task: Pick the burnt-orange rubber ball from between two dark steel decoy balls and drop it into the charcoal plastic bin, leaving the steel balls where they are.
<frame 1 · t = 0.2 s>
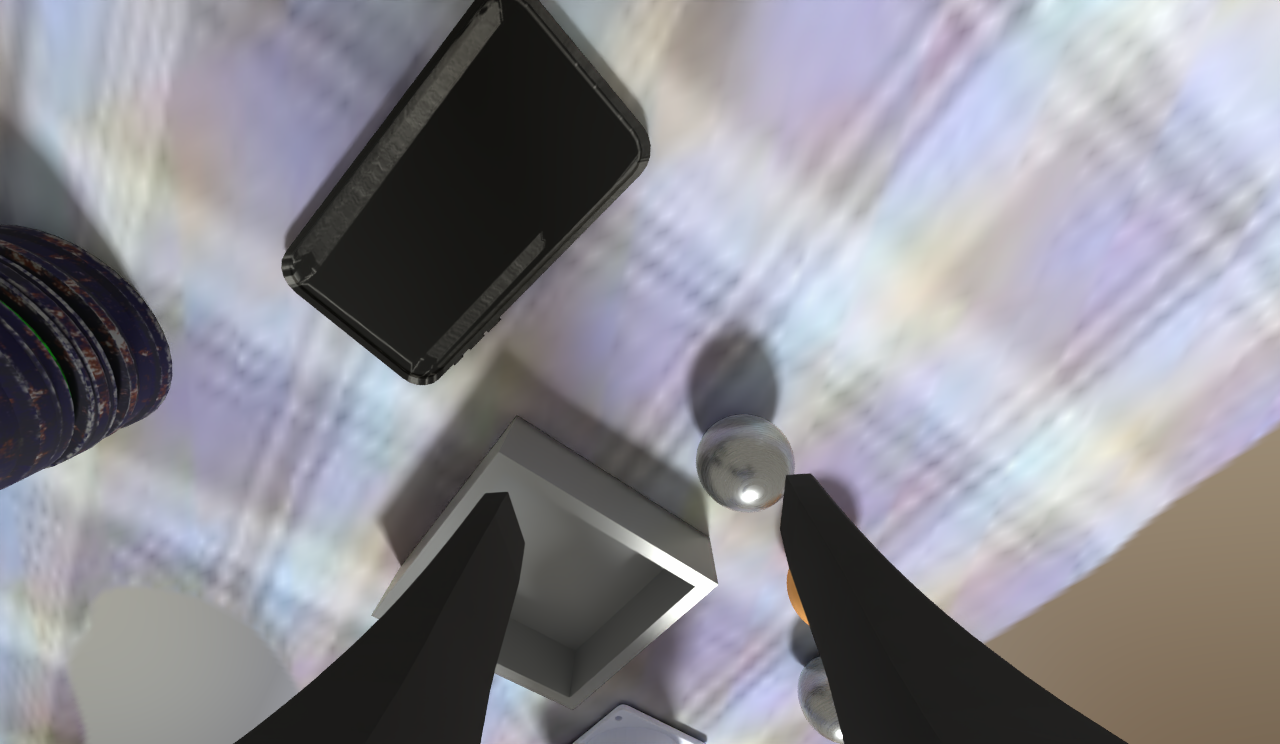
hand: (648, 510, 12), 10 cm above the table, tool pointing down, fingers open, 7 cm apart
orange ball: (830, 588, 25), point 2 cm above the table
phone: (469, 212, 20), on the table
steel ball b: (836, 697, 28), point 2 cm above the table
storage jar: (63, 333, 21), on the table
steel ball a: (744, 462, 21), point 2 cm above the table
bin: (552, 552, 26), on the table
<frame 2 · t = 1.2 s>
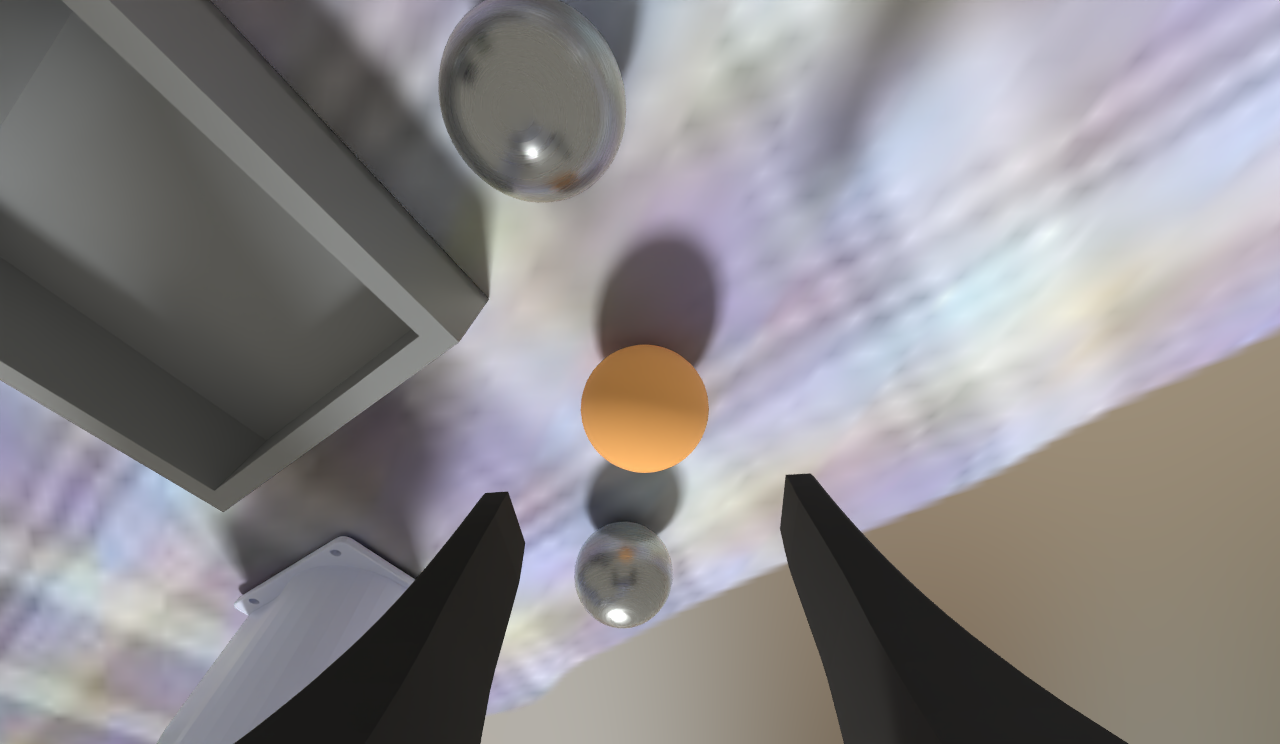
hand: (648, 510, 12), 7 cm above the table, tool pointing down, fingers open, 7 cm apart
orange ball: (644, 407, 16), point 2 cm above the table
steel ball b: (623, 572, 21), point 2 cm above the table
steel ball a: (536, 107, 11), point 2 cm above the table
bin: (219, 256, 16), on the table
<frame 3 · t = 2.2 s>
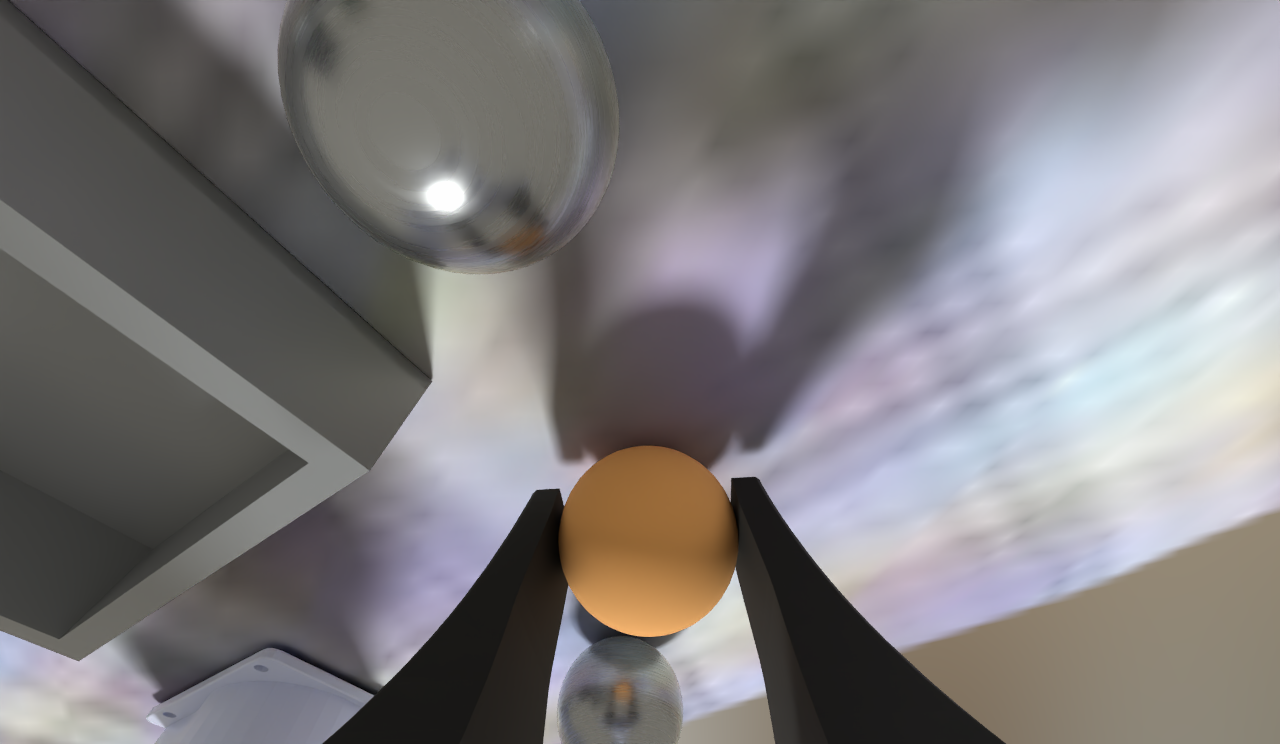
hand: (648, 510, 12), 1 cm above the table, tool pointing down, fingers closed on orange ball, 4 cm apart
orange ball: (648, 535, 12), point 2 cm above the table, touching gripper
steel ball b: (620, 707, 16), point 2 cm above the table
steel ball a: (468, 120, 7), point 2 cm above the table
bin: (46, 325, 11), on the table
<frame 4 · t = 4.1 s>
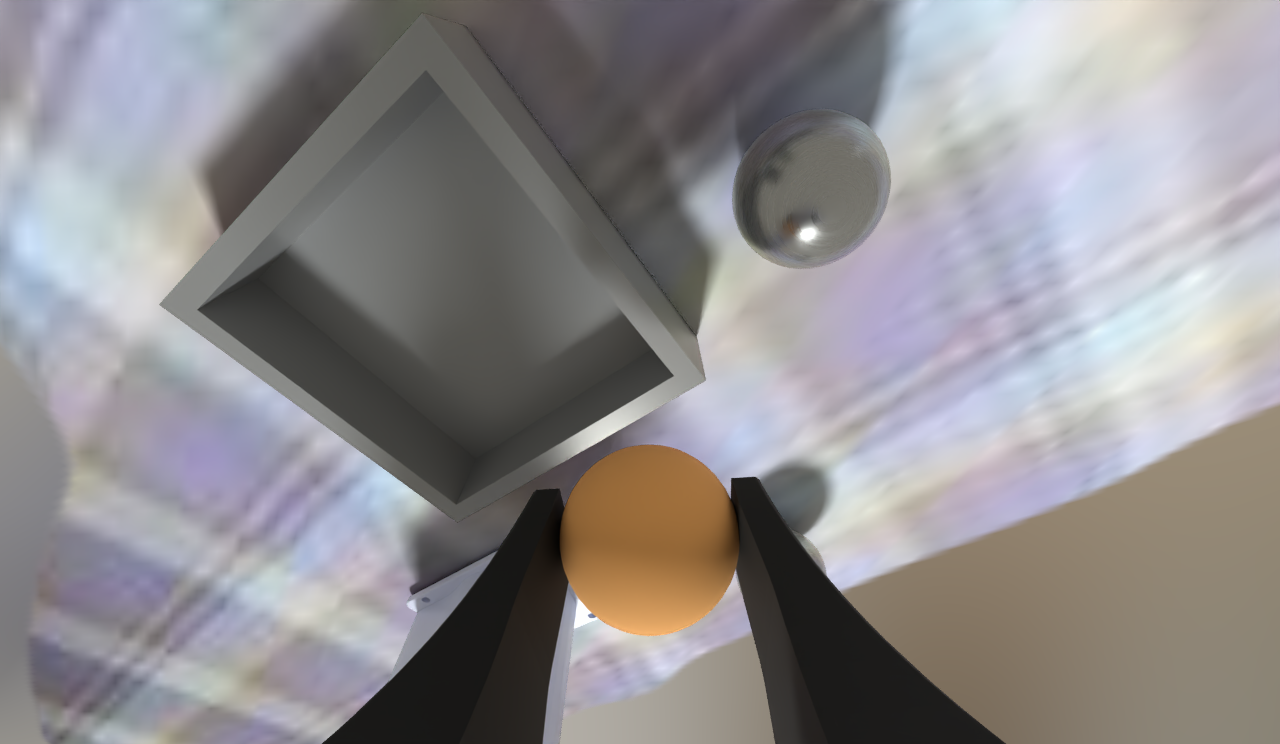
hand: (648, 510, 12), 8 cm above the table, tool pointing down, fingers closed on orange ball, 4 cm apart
orange ball: (649, 534, 12), point 9 cm above the table, touching gripper
steel ball b: (780, 572, 24), point 2 cm above the table
steel ball a: (807, 193, 14), point 2 cm above the table
bin: (474, 305, 18), on the table
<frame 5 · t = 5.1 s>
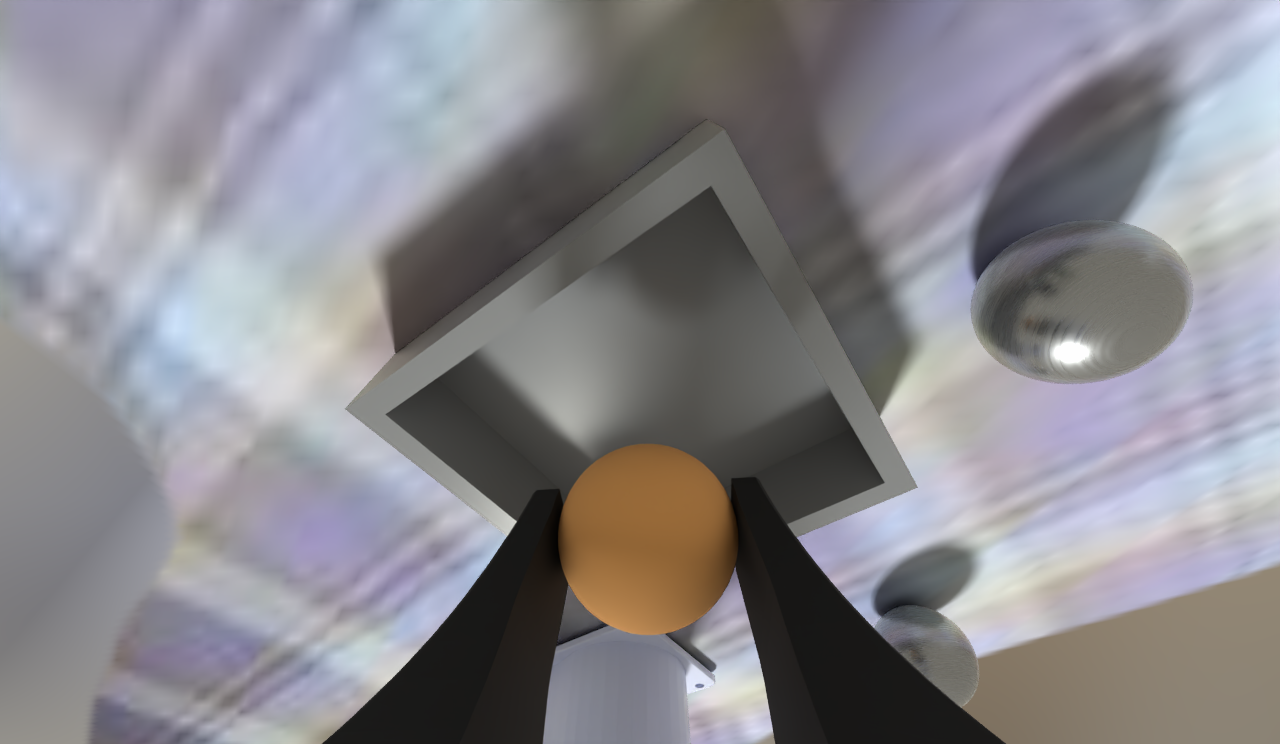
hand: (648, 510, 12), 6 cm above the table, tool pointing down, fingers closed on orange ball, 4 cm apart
orange ball: (647, 533, 12), point 6 cm above the table, touching gripper
steel ball b: (922, 656, 22), point 2 cm above the table
steel ball a: (1068, 304, 13), point 2 cm above the table
bin: (646, 391, 17), on the table
when the fingers open (4 cm above the table, at t = 5.8 s): orange ball drops 2 cm, resting on bin.
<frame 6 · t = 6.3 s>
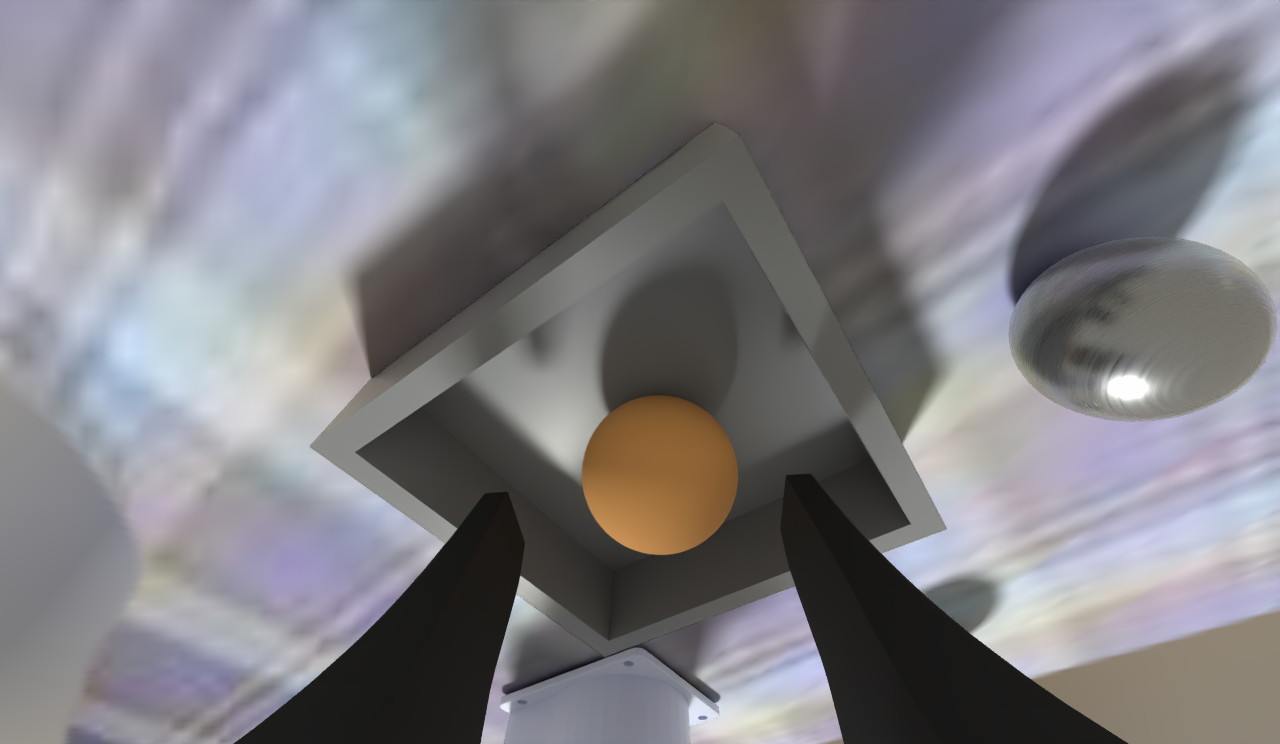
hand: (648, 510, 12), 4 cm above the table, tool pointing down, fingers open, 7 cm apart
orange ball: (659, 472, 13), point 3 cm above the table, tilted 10°, touching bin
steel ball a: (1124, 330, 11), point 2 cm above the table
bin: (646, 418, 16), on the table
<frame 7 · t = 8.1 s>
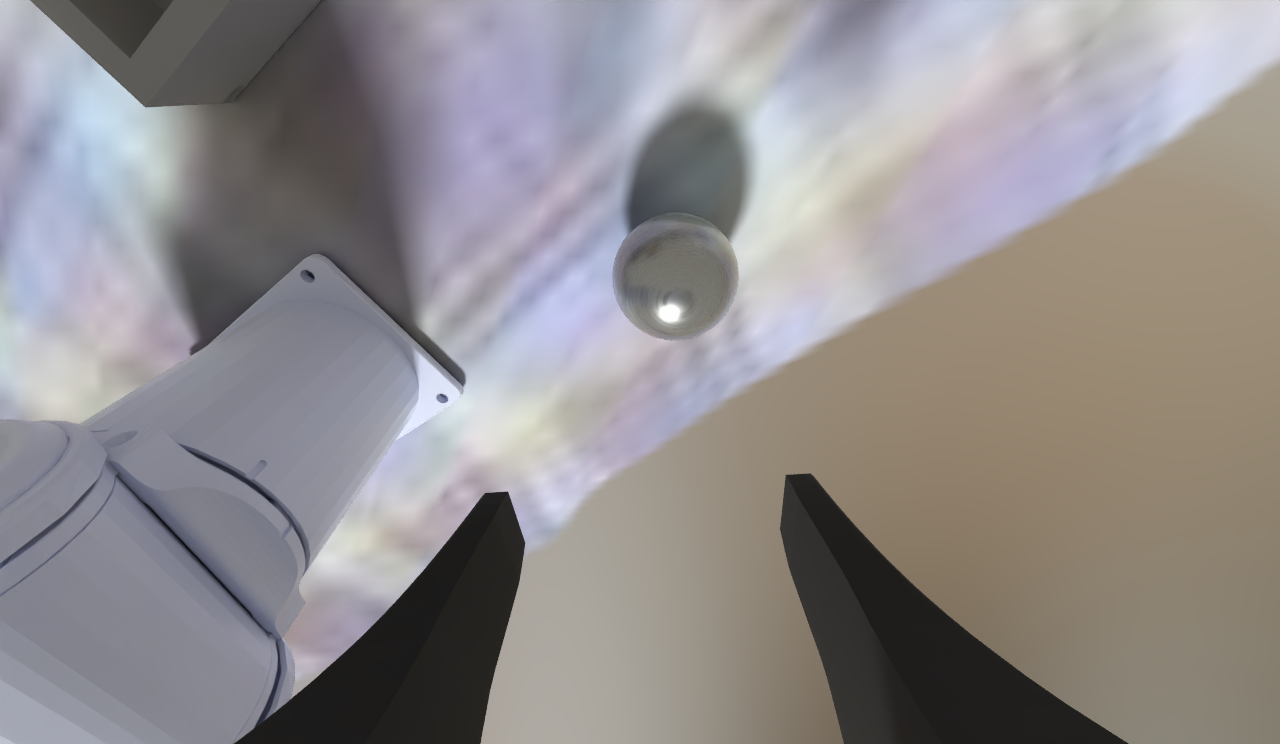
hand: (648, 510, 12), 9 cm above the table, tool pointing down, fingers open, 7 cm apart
steel ball b: (674, 277, 16), point 2 cm above the table
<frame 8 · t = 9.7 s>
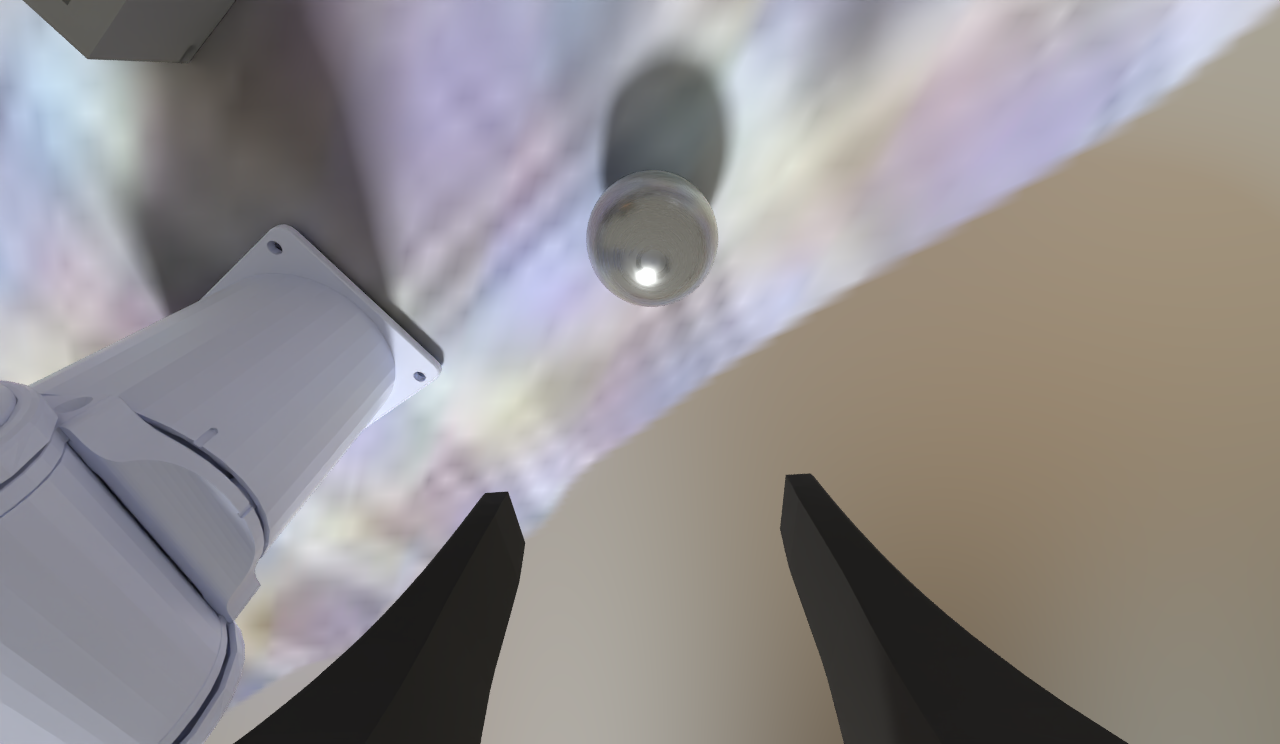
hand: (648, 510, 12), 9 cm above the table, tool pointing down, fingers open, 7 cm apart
steel ball b: (651, 240, 16), point 2 cm above the table
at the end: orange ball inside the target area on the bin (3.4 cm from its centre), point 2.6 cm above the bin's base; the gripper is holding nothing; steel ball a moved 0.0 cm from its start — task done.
